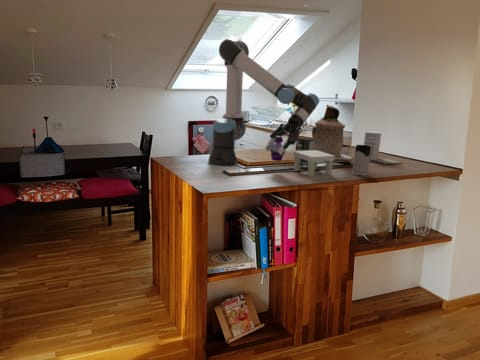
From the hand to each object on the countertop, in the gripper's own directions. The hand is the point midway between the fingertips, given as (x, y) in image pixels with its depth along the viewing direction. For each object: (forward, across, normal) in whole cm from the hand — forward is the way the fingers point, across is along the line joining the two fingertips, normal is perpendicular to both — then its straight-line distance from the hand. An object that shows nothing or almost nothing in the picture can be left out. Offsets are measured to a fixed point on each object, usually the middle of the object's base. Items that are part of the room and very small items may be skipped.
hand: (272, 151), depth 230 cm
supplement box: (-53, -1, -68) cm, 86 cm away
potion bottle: (+1, 0, -6) cm, 6 cm away
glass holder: (-24, -24, -39) cm, 52 cm away
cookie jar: (-37, +16, -52) cm, 66 cm away
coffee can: (-17, +10, -33) cm, 38 cm away
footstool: (-7, -10, -22) cm, 25 cm away
